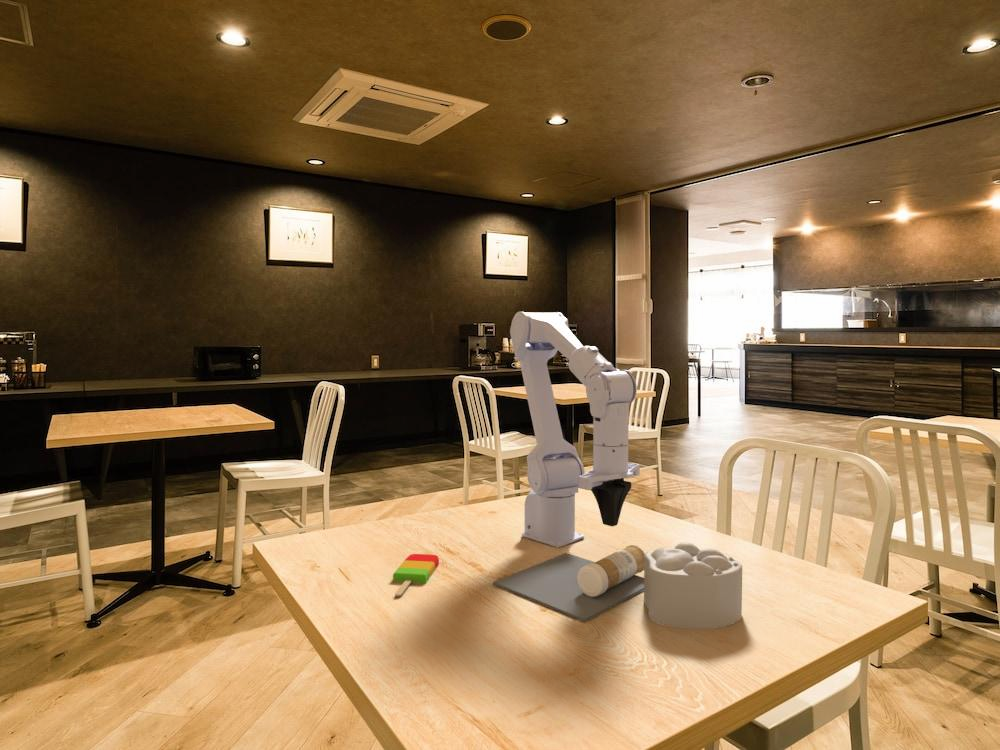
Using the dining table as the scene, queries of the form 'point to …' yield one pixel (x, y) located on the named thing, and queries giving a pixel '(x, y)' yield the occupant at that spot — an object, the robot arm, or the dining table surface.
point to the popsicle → (415, 570)
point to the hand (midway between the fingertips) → (610, 524)
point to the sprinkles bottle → (611, 570)
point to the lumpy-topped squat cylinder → (692, 587)
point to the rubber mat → (567, 587)
